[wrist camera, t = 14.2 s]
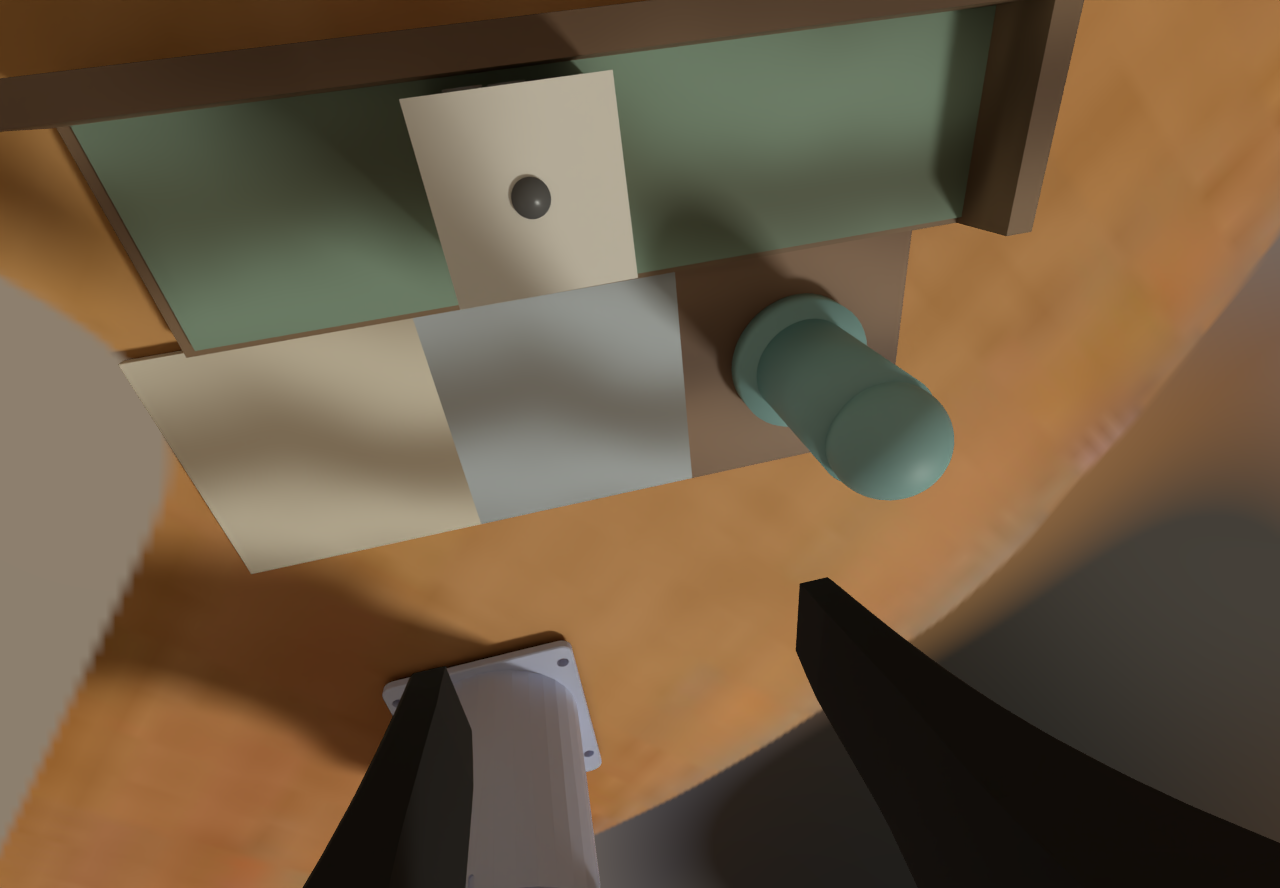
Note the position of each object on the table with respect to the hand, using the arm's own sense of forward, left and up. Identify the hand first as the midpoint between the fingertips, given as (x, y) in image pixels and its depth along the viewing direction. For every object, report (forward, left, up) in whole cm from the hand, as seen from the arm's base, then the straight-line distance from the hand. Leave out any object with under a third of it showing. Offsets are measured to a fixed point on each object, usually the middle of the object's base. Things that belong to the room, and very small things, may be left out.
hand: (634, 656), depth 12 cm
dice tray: (+8, -2, -10) cm, 13 cm away
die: (+8, 0, -9) cm, 12 cm away
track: (+1, 0, -10) cm, 10 cm away
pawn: (+1, -8, -10) cm, 13 cm away
